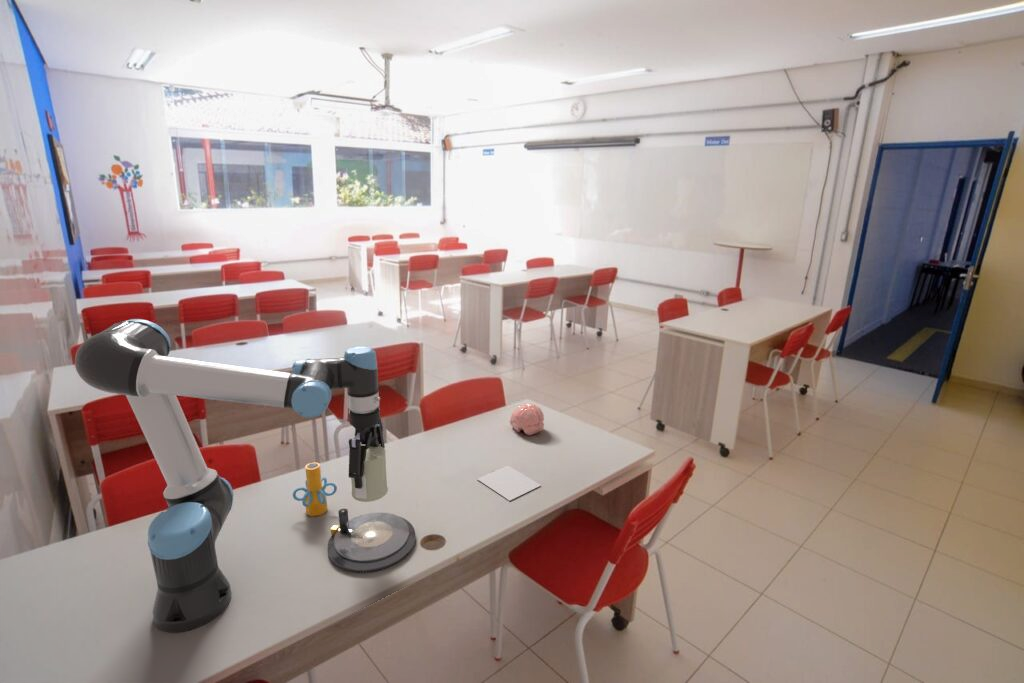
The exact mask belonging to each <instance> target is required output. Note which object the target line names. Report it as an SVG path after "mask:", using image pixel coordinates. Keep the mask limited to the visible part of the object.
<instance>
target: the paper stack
mask: <svg viewBox="0 0 1024 683" xmlns="http://www.w3.org/2000/svg"><path fill="white" fill-rule="evenodd" d="M477 480H478V481H479V482H481V483H482V484H483V485H485V486H487V487H488V488H490V489H491V490H493V491H494V492H496V493H498V494H499V495H500V496H502V497H503V498H505V499H507V501H512V500H514V499H516V498H518V497H520V496H522V495H524V494H527V493H528V492H530V491H533V490H535V489H536V488H539V487H541V486H542V484H540V483H538V482H537V481H535V480H533V479H531V478H530V477H528V476H526V475H525V474H523V473H521V472H520V471H519V470H516V469H514V468H513V467H511V466H510V465H506V466H503V467H502V468H498V469H496V470H494V471H492V472H490V473H487V474H485V475H482V476H480V477H478V478H477Z"/></svg>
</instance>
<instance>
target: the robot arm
mask: <svg viewBox="0 0 1024 683" xmlns="http://www.w3.org/2000/svg"><path fill="white" fill-rule="evenodd" d="M171 345H172V344H171V339H170V336H169V334H168V333H167V332H166V331H165V330H164V329H163V328H162V327H161V326H160V325H158V324H157V323H155V322H152V321H149V320H147V319H142V318H131V319H128V320H123V321H120V322H117V323H113V324H112V325H111V326H109V327H108V328H106V329H104V330H102V331H100V332H98V333H96V334H94V335H92V336H90V337H88V338H87V339H86V340H84V341H83V342H82V343H81V345H80V346H79V347H78V349H77V351H76V352H75V356H74V365H75V366H74V367H75V370H76V372H77V374H78V376H79V377H80V379H81V380H83V381H84V383H86V384H87V385H89V386H90V387H92V388H94V389H97V390H99V391H102V392H105V393H110V394H114V395H115V394H117V395H122V396H125V397H126V399H127V401H128V403H129V406H130V407H131V409H132V411H133V414H134V416H135V418H136V420H137V422H138V424H139V427H140V430H141V432H142V434H143V435H144V438H145V440H146V442H147V444H148V446H149V448H150V451H151V452H152V455H153V457H154V459H155V461H156V463H157V465H158V467H159V470H160V472H161V474H162V476H163V479H164V481H165V482H166V487H165V489H164V491H163V494H162V495H163V497H164V499H165V502H166V504H167V506H168V508H166V510H165V511H162V512H160V513H159V514H157V515H156V516H155V517H154V519H152V521H151V522H150V524H149V527H148V530H147V545H148V550H149V552H150V556H151V561H152V566H153V571H154V576H155V579H156V584H157V589H156V590H157V591H156V594H155V599H154V604H153V607H152V615H153V622H154V624H155V626H156V627H157V628H158V629H160V630H161V631H164V632H168V633H180V632H186V631H190V630H193V629H196V628H199V627H201V626H204V625H206V624H207V623H209V622H211V621H212V620H214V619H215V618H217V617H218V616H219V615H220V614H221V613H222V612H223V611H225V609H226V608H227V607H228V605H229V604H230V601H231V599H232V590H231V584H230V582H229V580H228V578H227V577H226V575H224V573H223V571H222V570H221V569H220V567H219V564H218V557H217V551H216V540H217V539H218V536H219V534H220V532H221V530H222V528H223V525H224V524H225V521H226V519H227V518H228V515H229V514H230V512H231V510H232V507H233V503H234V502H233V501H234V490H233V487H232V486H231V483H230V482H229V481H228V480H226V478H224V477H221V476H220V475H219V474H218V471H217V470H216V469H213V468H209V467H208V466H207V464H206V461H205V460H204V458H203V455H202V452H201V450H200V448H199V445H198V443H197V440H196V438H195V436H194V434H193V431H192V430H191V427H190V425H189V423H188V420H187V418H186V416H185V413H184V410H183V409H182V407H181V403H180V401H179V399H178V397H177V396H180V397H189V398H194V399H195V398H198V399H205V400H212V401H213V400H215V401H223V402H233V403H242V404H250V405H251V404H252V405H257V406H258V405H261V406H269V407H276V408H277V407H278V408H284V409H285V408H287V409H293V410H294V412H295V413H296V414H298V415H299V416H301V417H303V418H306V419H307V418H308V419H309V418H315V417H319V416H320V415H322V414H323V413H325V411H326V410H327V409H328V407H329V405H330V402H331V401H332V397H333V395H332V392H333V390H336V389H337V390H338V389H339V390H340V389H346V390H347V391H346V392H347V406H348V407H347V409H349V410H348V420H349V424H350V426H352V427H353V428H354V429H355V430H354V437H353V438H349V439H348V447H349V448H348V450H349V451H348V452H349V454H348V478H349V479H350V478H354V483H355V497H356V498H363V499H366V498H367V492H366V477H365V474H363V473H364V461H365V459H366V452H367V449H368V448H369V446H373V447H378V446H381V447H383V448H384V449H385V447H386V446H385V442H384V436H383V430H382V418H381V409H380V401H381V397H380V396H379V395H380V394H379V374H378V373H379V372H378V371H379V370H378V362H377V361H378V360H377V352H376V351H375V349H374V348H372V347H369V346H356V347H350V348H347V349H345V351H344V354H343V356H341V357H333V358H331V357H330V358H329V357H328V358H327V357H326V358H307V359H300V360H296V361H294V362H293V363H292V368H291V372H286V371H285V372H284V371H278V370H270V369H263V368H256V367H248V366H242V365H241V366H240V365H234V364H227V363H226V364H225V363H218V362H210V361H201V360H196V359H195V360H194V359H188V358H181V357H173V356H169V354H170V351H171V347H172V346H171ZM364 445H365V446H364ZM385 450H386V449H385Z"/></svg>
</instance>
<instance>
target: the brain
mask: <svg viewBox="0 0 1024 683" xmlns="http://www.w3.org/2000/svg"><path fill="white" fill-rule="evenodd" d="M544 420H545V415H544V412H543V411H542V408H541V407H539V406H537V405H536V404H533V403H525V404H522V405H518V406H517V407H516V408H515V409H513V411H512V413H511V415H510V417H509V423H510V426H511V427H513V429H514V430H515V431H516V432H517V433H520V432H522V430H523V433H524V434H525V435H527V436H532V435H534V434H537V433H540V432H541V431H543V430H544V427H545V423H544Z"/></svg>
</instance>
